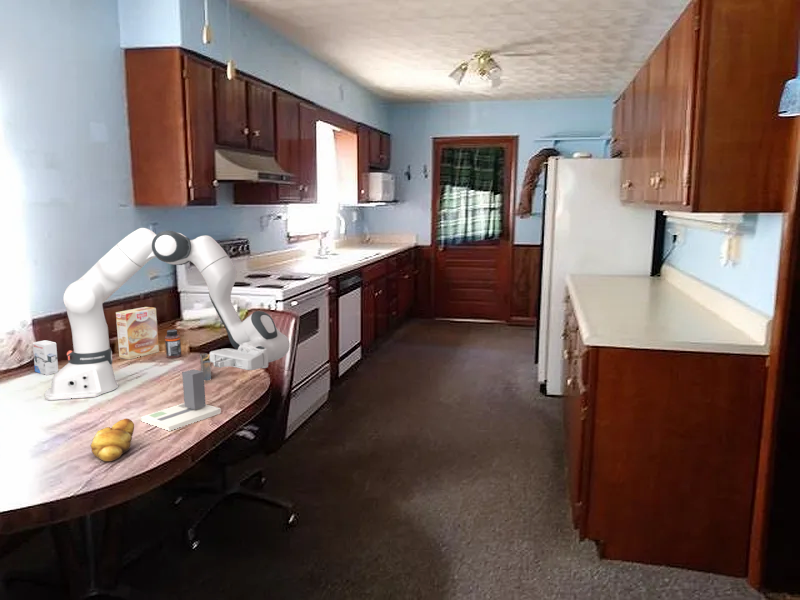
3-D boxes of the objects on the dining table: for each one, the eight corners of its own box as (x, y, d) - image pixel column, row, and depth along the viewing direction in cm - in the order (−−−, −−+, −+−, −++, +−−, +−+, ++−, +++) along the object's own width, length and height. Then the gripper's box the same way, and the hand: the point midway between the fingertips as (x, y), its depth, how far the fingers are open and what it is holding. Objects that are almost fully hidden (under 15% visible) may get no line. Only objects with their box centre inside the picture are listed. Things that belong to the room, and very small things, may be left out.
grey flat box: (212, 380, 222) (210, 354, 220) (203, 381, 221) (202, 355, 219) (209, 372, 232) (208, 348, 231) (201, 373, 231) (199, 348, 229)
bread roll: (123, 463, 152) (120, 433, 151) (82, 466, 151) (79, 435, 149) (138, 443, 165) (135, 415, 163) (100, 445, 163) (97, 417, 162)
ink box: (34, 372, 233) (31, 342, 231) (47, 369, 238) (44, 339, 236) (46, 375, 229) (43, 345, 227) (59, 372, 233) (56, 342, 231)
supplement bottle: (167, 355, 256) (165, 329, 255) (182, 354, 258) (180, 328, 256) (165, 359, 251) (163, 332, 249) (180, 358, 252) (178, 331, 250)
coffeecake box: (129, 360, 250) (125, 313, 247) (118, 357, 253) (114, 312, 250) (160, 351, 263) (156, 307, 260) (149, 349, 266) (145, 306, 263)
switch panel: (169, 431, 172) (169, 426, 172) (141, 421, 180) (140, 416, 180) (220, 413, 187) (220, 408, 187) (192, 404, 195) (192, 399, 195)
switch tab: (194, 409, 184) (192, 374, 183) (184, 406, 187) (182, 372, 185) (205, 406, 188) (203, 371, 186) (195, 403, 190) (193, 369, 189)
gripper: (228, 342, 209) (195, 350, 198) (270, 349, 197) (237, 359, 186) (230, 359, 210) (196, 369, 199) (271, 368, 199) (238, 379, 187)
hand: (216, 364), depth 192 cm, fingers closed
